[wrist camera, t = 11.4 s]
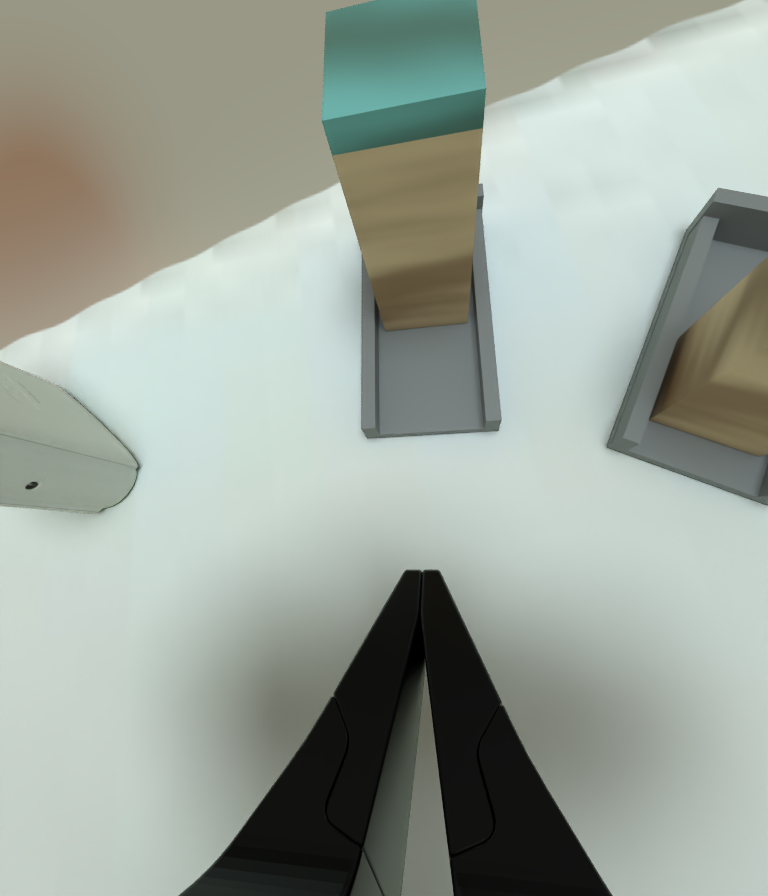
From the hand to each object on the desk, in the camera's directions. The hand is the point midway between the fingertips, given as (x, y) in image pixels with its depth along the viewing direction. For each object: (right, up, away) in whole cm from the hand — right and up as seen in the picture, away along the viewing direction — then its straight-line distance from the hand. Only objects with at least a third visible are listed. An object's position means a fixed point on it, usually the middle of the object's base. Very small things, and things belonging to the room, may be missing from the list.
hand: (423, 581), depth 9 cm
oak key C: (+1, +12, +12) cm, 17 cm away
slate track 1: (+1, +10, +12) cm, 16 cm away
